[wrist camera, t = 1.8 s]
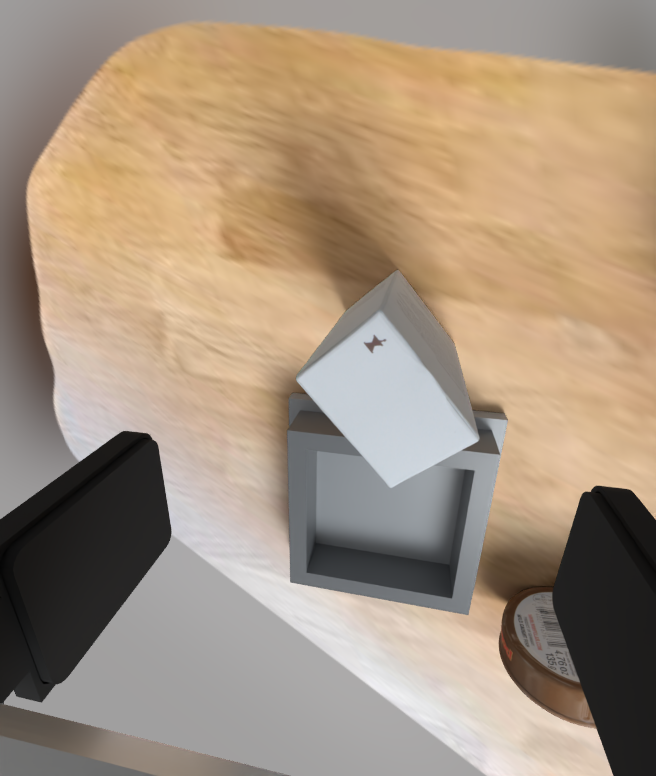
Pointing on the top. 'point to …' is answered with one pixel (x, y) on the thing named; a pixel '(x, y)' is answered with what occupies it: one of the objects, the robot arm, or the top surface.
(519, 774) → the top surface
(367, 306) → the skincare box
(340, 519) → the grey square tray
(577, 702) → the tin
